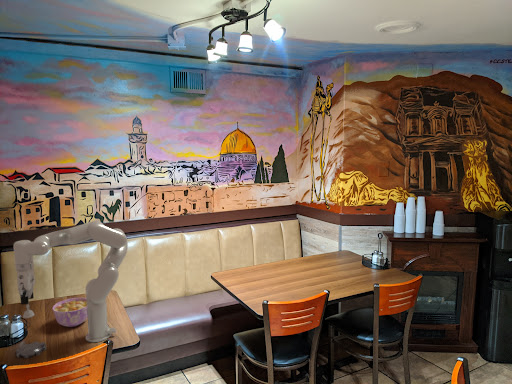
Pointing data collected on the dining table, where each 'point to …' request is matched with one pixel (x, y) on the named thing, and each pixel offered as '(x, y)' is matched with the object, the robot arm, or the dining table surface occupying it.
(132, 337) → the dining table surface
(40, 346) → the gear trivet
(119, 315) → the dining table surface
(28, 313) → the chalice
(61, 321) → the bowl of food
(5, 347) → the dining table surface
